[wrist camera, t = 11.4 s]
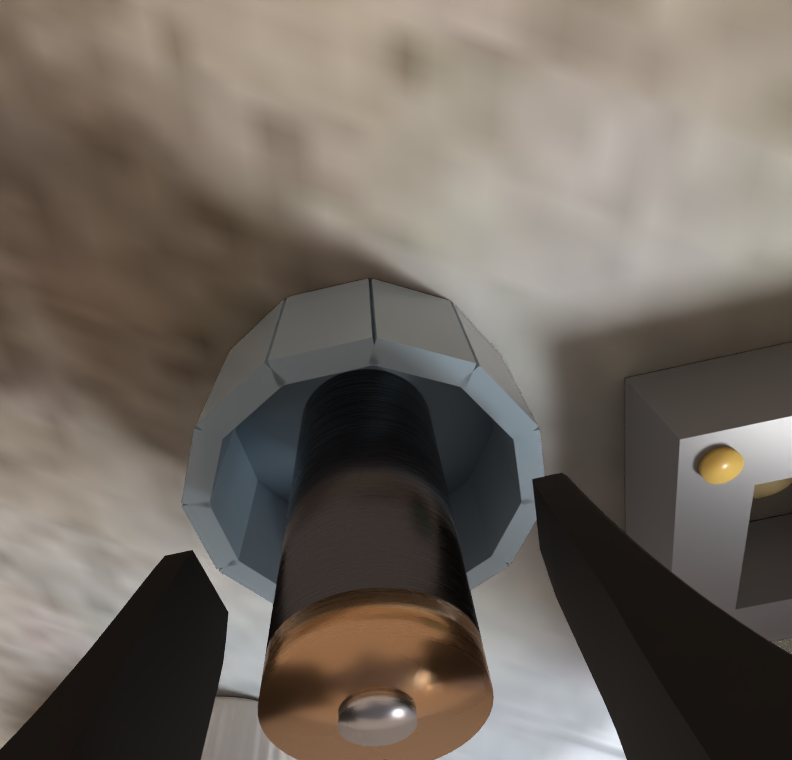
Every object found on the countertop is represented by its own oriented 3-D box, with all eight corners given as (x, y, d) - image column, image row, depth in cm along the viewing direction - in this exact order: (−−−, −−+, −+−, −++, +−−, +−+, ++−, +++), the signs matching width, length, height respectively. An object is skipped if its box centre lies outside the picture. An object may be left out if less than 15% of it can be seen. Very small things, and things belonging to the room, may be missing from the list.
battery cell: (440, 461, 16) (508, 762, 9) (321, 487, 16) (298, 801, 9) (417, 355, 14) (479, 626, 7) (284, 385, 14) (217, 678, 7)
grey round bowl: (520, 495, 17) (555, 584, 14) (274, 546, 18) (258, 644, 15) (488, 250, 13) (527, 302, 10) (171, 323, 14) (119, 394, 11)
